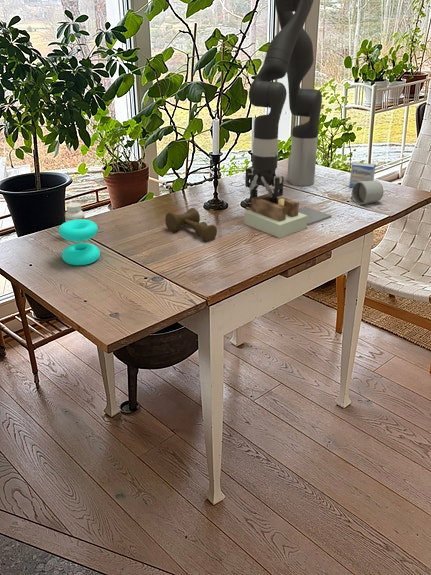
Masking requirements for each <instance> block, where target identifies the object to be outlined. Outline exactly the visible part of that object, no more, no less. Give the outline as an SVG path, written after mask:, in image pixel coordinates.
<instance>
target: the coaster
mask: <svg viewBox="0 0 431 575" xmlns="http://www.w3.org/2000/svg"><path fill="white" fill-rule="evenodd" d="M298 212H299V213H302V214H305V215H307V216H308V218H307V226H310V225H314V224H316V223H320V222H322V221H324V220H328V219H330V218H332V214H328V213H327V212H323V211H320V210H317V209H314V208H311V207H309V206H303V207H299V211H298Z"/></svg>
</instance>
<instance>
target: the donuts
mask: <svg viewBox="0 0 431 575" xmlns="http://www.w3.org/2000/svg"><path fill="white" fill-rule="evenodd" d="M98 229H99V227H98V225H97V224H96V222H95V221H92V220H90V219H76V220H70V221H67V222H66V221H65V222H63V223H62V224H61V225H60V226H59V227H58V234H59V235H60V237H61V238H62V239H64V240H66V241H69V242H76V243H72V244H70V245H67V246H66V247H65V248H64V249H63V250H62V253H61V257H62V260H63V261H64V262H65V263H66V264H69V265H71V266H86V265H89V264H92V263H94V262H96V261H98V259H100V256H101V251H100V248H98V246H97V245H95V244H93V243H89V242H85V241H88V240H90V239H92V238H94V237H95V236H96V234H98Z"/></svg>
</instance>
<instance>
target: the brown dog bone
mask: <svg viewBox="0 0 431 575" xmlns="http://www.w3.org/2000/svg"><path fill="white" fill-rule="evenodd" d="M185 225H187V226H188V227H190V228H191V229H193V231H194V233H195V235H196V237H197V236H198V237H202V239H203V241H204V242H211V241H213V240H214V239H216V237H217V233H218V228H217V227H216V225H215V224H209V225H208V223H207V222H205V221H201V216H200V212H199V211H198V209H196V208H194V207H190V208H189V209H187V211H185V213H182V214H177V213H174V212H167V213H166V215H165V226H166V228H167V229H168V231H170V232H171V233H176V232H177V231H178V230H179V229H180V228H181V227H182V226H185Z"/></svg>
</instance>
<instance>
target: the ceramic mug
mask: <svg viewBox="0 0 431 575" xmlns="http://www.w3.org/2000/svg"><path fill="white" fill-rule="evenodd" d="M384 191H385V190H384V187H383V185H382V182H379V181H377V180H373V181H359V182H357V183H355V184H354V186H353V188H351V193H350V195H351V198H352V199H353V201H354V203H355V204H357V205H358V206H359V205H360V206H361V205H366V204H367V205H368V204H372V203H373V204H374V203H377V202H379V201H380V200H382V198H383V196H384Z"/></svg>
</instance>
